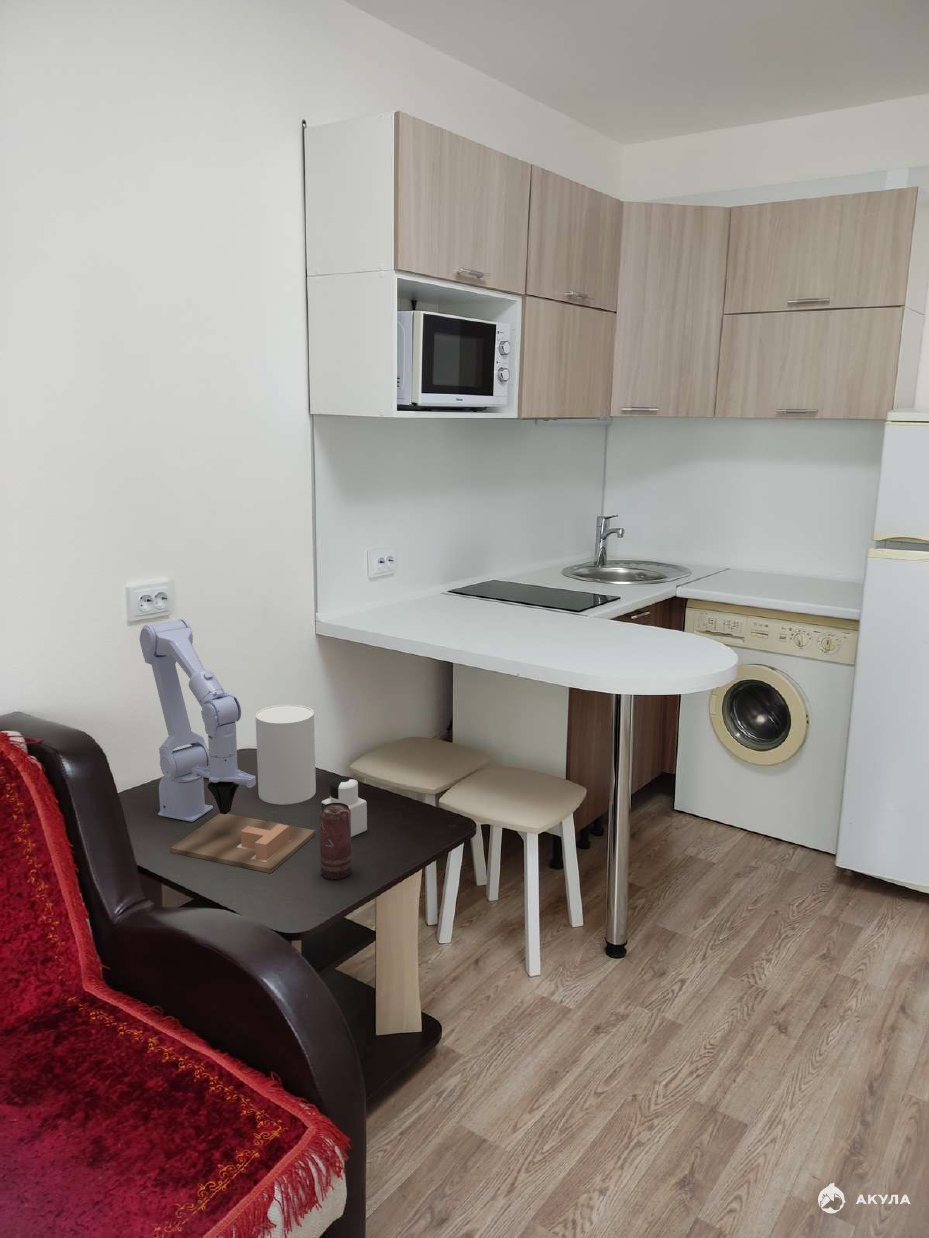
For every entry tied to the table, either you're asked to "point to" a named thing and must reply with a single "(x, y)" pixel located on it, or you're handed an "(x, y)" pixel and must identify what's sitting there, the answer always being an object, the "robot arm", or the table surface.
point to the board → (237, 843)
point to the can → (335, 840)
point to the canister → (285, 753)
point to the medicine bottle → (349, 802)
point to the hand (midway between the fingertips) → (225, 812)
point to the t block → (265, 840)
